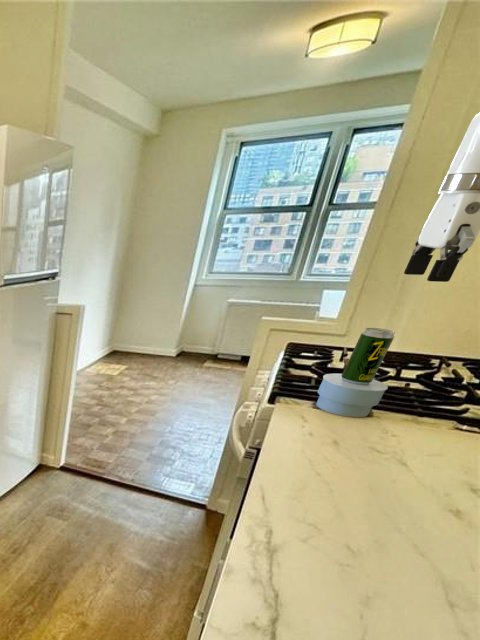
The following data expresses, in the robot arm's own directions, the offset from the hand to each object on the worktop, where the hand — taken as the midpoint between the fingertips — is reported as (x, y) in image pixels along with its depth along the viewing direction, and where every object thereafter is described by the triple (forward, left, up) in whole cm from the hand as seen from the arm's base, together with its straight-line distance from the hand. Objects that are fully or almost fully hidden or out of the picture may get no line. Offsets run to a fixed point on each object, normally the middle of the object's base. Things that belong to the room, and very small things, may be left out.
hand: (424, 277), depth 101 cm
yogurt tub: (+3, +1, -30) cm, 30 cm away
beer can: (+3, +1, -24) cm, 24 cm away
